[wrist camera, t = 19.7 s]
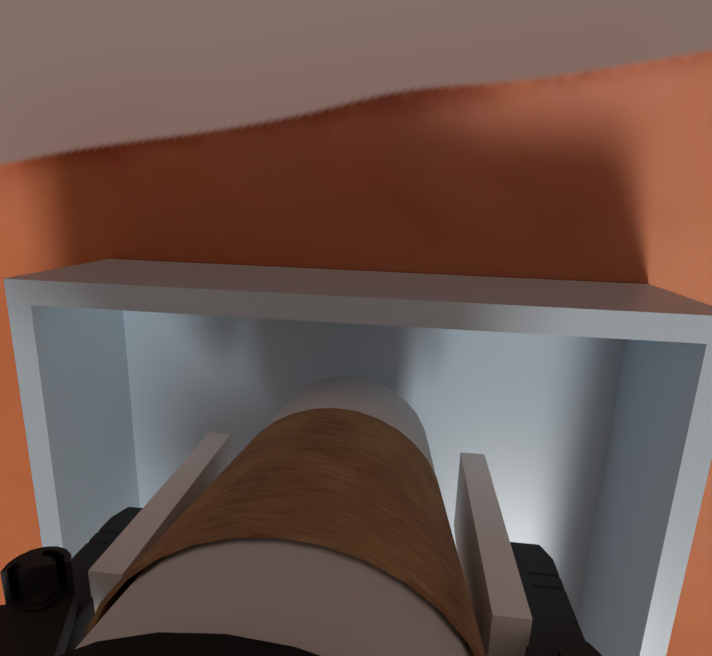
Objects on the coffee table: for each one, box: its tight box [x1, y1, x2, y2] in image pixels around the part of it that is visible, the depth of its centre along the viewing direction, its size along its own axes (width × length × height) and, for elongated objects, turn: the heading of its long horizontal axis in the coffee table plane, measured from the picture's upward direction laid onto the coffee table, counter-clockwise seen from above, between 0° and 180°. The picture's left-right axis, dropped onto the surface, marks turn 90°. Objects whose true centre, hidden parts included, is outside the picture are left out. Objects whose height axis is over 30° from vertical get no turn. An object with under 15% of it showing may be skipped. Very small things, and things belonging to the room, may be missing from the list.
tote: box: [4, 259, 712, 656], centre depth 20 cm, size 22×24×6 cm
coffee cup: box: [58, 376, 486, 656], centre depth 11 cm, size 8×8×15 cm
